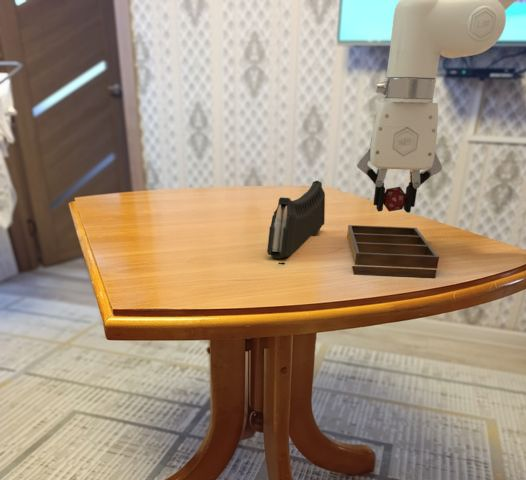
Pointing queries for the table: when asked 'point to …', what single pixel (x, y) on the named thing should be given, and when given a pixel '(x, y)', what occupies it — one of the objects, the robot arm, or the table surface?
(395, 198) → the dice
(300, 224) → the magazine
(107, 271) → the table surface
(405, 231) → the rack
